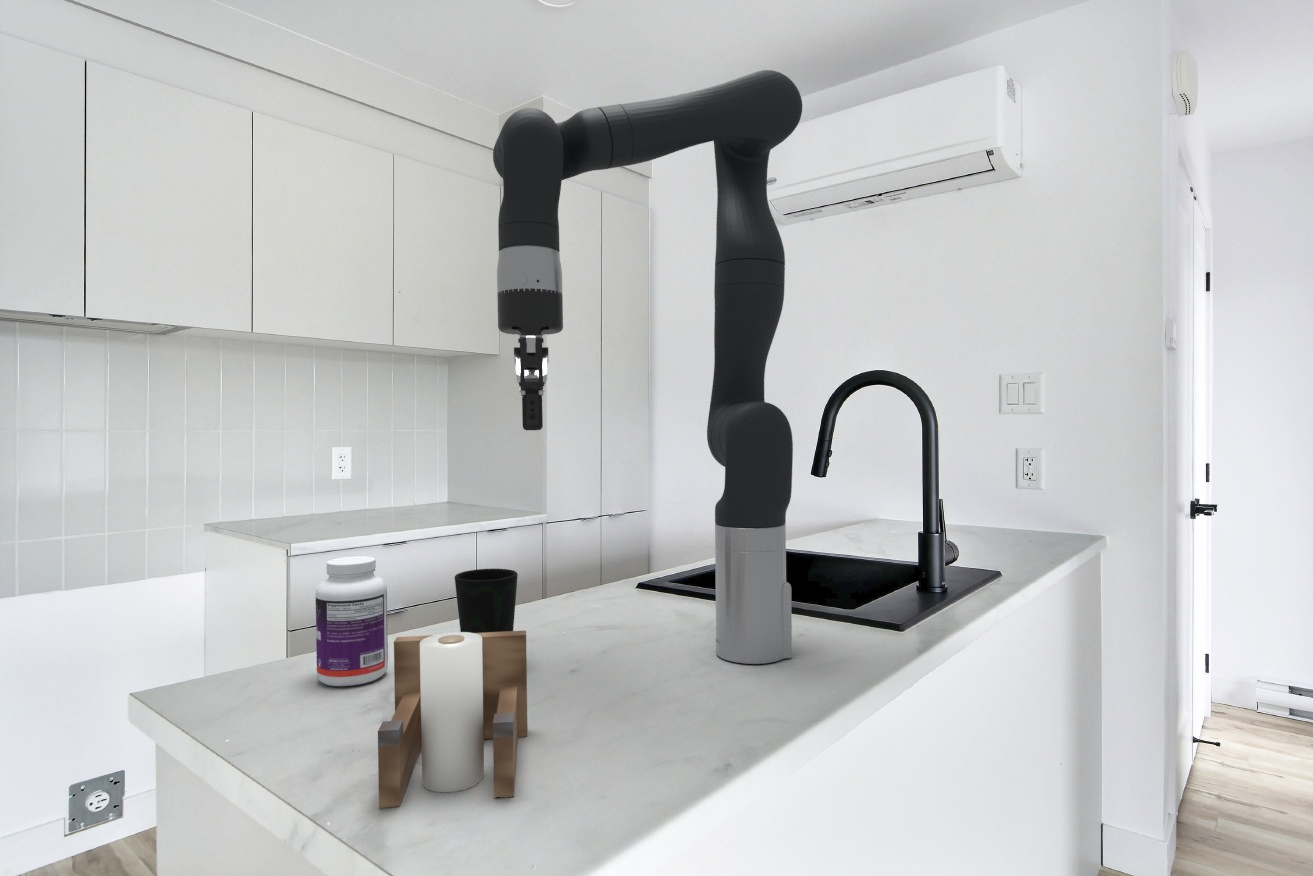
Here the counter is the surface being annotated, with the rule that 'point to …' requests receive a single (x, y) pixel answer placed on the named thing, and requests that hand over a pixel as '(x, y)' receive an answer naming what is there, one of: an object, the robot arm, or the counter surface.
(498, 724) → the holder
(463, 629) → the cup
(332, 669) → the pill bottle
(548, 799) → the counter surface
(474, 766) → the roll
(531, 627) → the counter surface
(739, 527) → the robot arm
